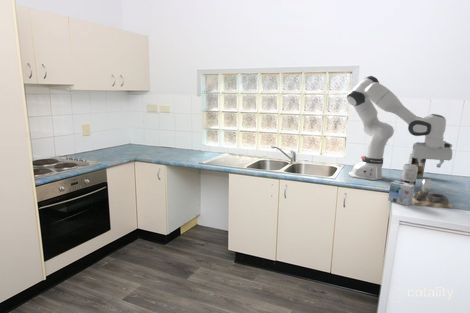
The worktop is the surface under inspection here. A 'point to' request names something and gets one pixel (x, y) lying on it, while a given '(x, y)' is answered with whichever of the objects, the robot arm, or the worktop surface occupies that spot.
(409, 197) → the light bulb box
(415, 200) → the manifold plate
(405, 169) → the supplement can
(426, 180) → the pipe fitting
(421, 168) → the coffee box
